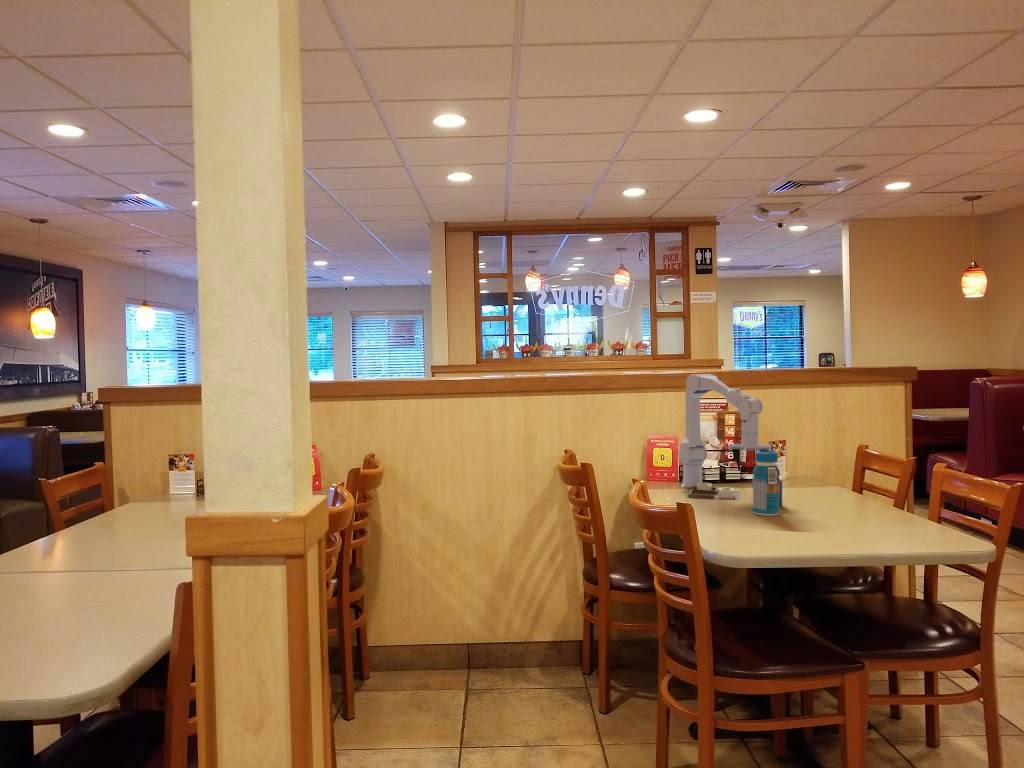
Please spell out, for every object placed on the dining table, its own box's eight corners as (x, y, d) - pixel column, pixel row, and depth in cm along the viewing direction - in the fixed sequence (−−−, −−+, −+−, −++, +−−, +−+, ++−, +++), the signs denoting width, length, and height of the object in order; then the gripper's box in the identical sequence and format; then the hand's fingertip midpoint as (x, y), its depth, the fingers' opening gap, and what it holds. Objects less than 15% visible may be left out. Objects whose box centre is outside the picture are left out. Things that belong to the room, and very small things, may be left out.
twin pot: (697, 490, 285) (697, 481, 285) (711, 490, 283) (711, 482, 283) (696, 492, 280) (696, 483, 280) (710, 493, 278) (710, 484, 278)
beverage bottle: (750, 515, 243) (750, 452, 242) (754, 510, 250) (755, 449, 249) (777, 517, 239) (778, 454, 238) (781, 512, 246) (782, 451, 245)
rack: (689, 489, 287) (689, 486, 287) (739, 492, 282) (739, 488, 282) (686, 498, 271) (686, 494, 271) (739, 500, 265) (739, 496, 265)
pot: (719, 495, 275) (719, 486, 274) (733, 495, 273) (733, 487, 273) (718, 497, 270) (718, 488, 270) (733, 498, 268) (733, 489, 268)
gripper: (728, 433, 266) (728, 471, 267) (771, 434, 262) (771, 473, 263) (728, 431, 273) (728, 468, 274) (771, 432, 269) (771, 470, 269)
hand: (749, 470), depth 269 cm, fingers open, 6 cm apart
